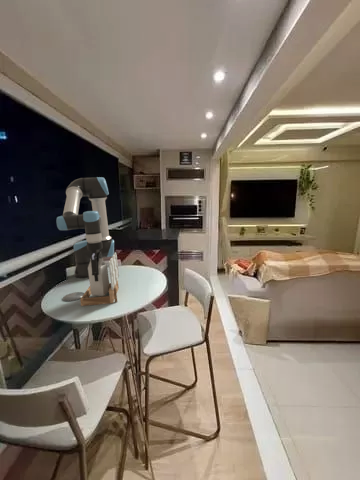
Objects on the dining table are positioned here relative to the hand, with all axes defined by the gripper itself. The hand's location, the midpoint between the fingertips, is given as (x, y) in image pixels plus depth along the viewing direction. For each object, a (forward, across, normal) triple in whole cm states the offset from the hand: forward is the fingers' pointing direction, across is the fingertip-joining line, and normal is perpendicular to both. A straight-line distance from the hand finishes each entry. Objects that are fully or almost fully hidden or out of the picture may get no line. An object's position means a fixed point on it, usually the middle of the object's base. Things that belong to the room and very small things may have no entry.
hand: (99, 283), depth 136 cm
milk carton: (+6, 0, 0) cm, 6 cm away
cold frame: (+7, 0, 0) cm, 7 cm away
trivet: (+7, -2, -15) cm, 17 cm away
